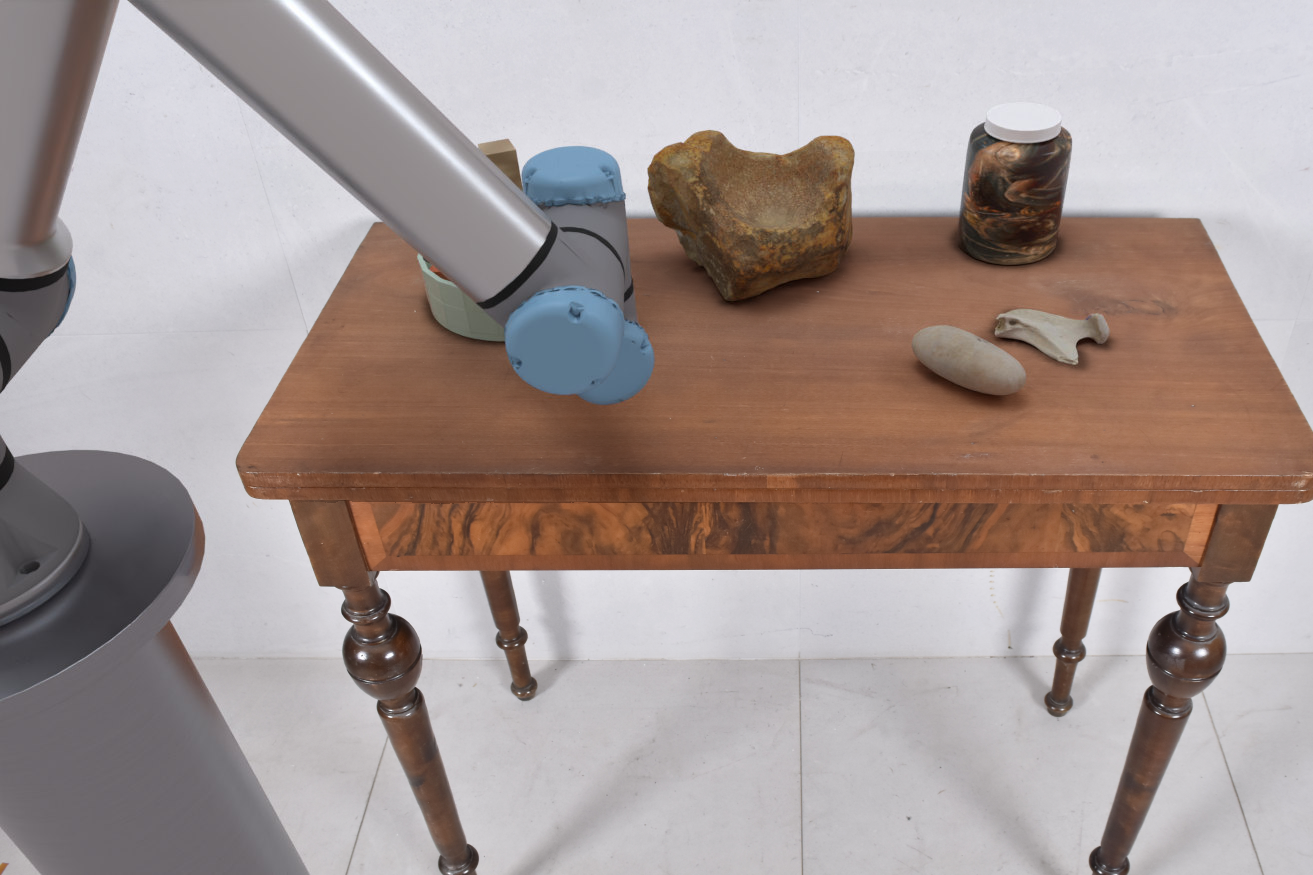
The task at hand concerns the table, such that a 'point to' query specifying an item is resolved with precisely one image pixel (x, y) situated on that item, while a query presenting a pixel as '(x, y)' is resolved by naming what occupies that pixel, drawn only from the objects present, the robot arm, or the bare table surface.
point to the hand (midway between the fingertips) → (504, 195)
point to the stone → (968, 360)
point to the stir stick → (503, 158)
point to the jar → (1014, 184)
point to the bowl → (457, 308)
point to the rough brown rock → (756, 209)
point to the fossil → (1051, 331)
